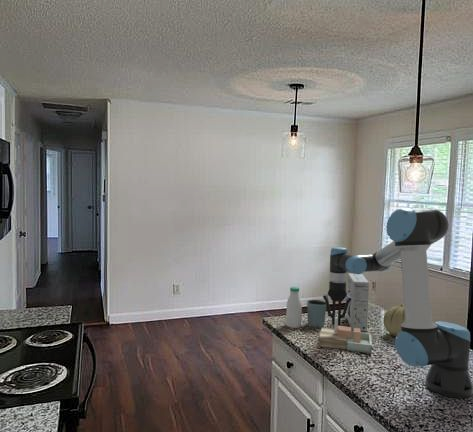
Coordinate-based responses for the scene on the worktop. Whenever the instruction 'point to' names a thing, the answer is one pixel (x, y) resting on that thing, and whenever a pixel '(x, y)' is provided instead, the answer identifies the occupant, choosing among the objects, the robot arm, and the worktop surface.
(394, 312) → the cantaloupe
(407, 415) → the worktop surface
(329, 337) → the board
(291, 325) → the milk bottle
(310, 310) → the grey-blue hollow tapered cylinder
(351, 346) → the tray
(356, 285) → the cereal box
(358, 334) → the tile
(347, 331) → the tile
